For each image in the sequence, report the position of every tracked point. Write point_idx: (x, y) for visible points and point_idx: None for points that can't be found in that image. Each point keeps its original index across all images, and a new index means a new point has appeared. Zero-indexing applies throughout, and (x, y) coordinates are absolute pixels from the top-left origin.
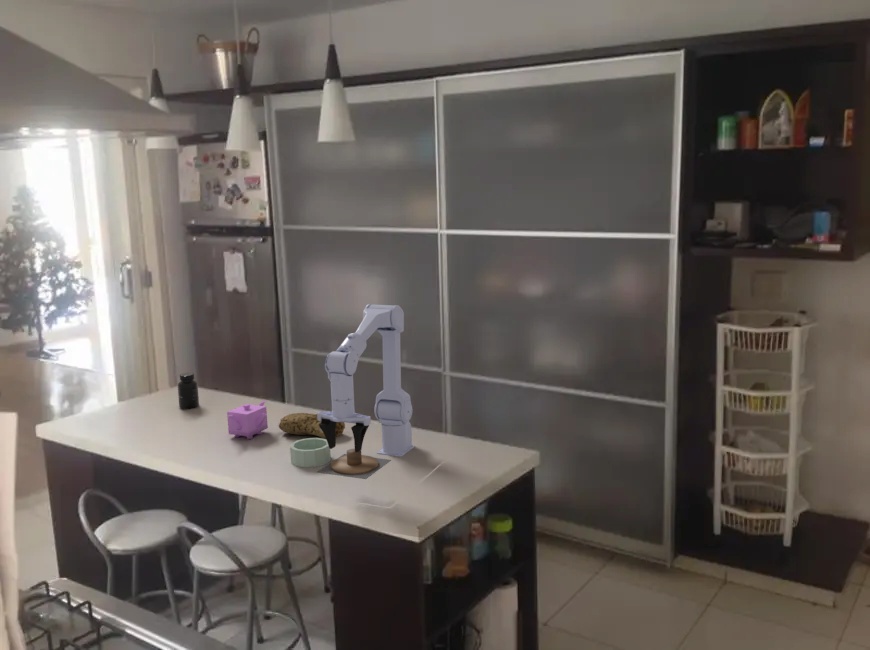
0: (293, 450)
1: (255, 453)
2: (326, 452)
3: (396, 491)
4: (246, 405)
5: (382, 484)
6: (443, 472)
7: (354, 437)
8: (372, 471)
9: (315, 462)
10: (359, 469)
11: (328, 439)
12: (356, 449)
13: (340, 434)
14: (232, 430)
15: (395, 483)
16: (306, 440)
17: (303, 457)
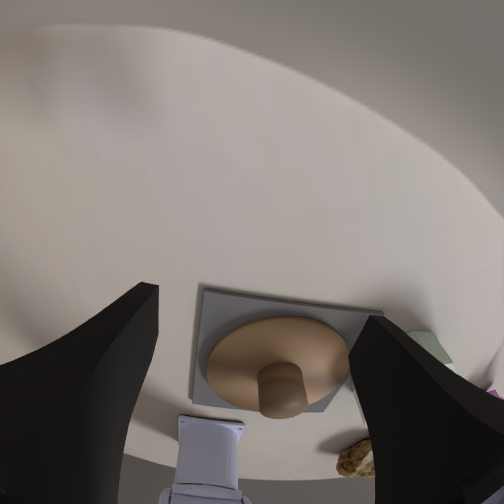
0: (453, 363)
1: (481, 359)
2: None
3: (71, 213)
4: None
5: (134, 262)
6: None
7: (87, 366)
8: (207, 344)
9: None
10: (247, 342)
11: (419, 356)
12: (136, 291)
13: (342, 453)
14: (494, 394)
15: (101, 275)
16: None
17: (428, 351)
